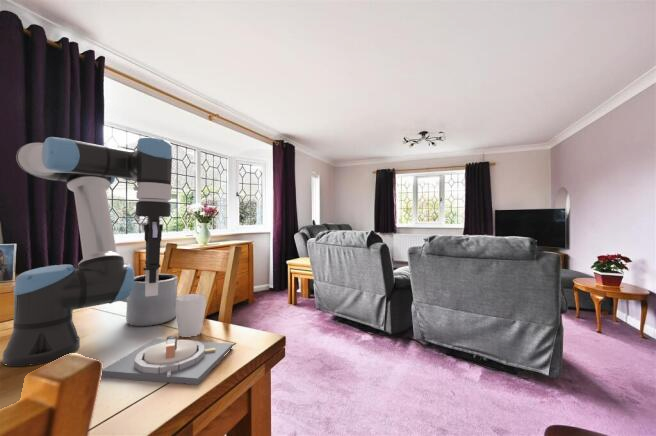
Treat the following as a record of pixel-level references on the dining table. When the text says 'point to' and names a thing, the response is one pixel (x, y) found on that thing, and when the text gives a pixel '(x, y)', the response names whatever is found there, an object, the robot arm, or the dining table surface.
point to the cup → (190, 314)
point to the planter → (152, 302)
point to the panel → (176, 372)
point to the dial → (170, 351)
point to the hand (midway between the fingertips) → (151, 294)
